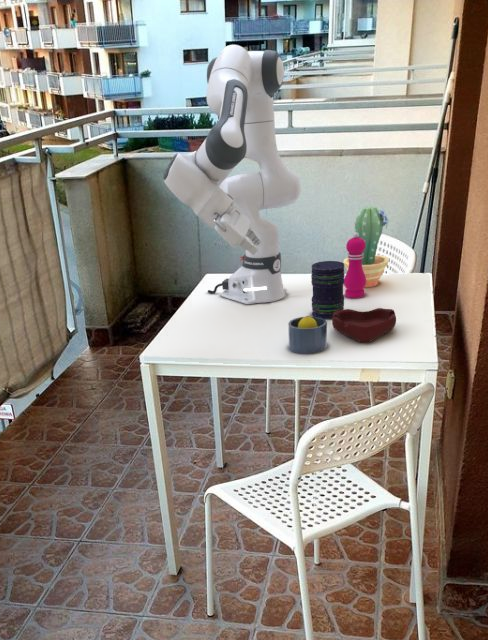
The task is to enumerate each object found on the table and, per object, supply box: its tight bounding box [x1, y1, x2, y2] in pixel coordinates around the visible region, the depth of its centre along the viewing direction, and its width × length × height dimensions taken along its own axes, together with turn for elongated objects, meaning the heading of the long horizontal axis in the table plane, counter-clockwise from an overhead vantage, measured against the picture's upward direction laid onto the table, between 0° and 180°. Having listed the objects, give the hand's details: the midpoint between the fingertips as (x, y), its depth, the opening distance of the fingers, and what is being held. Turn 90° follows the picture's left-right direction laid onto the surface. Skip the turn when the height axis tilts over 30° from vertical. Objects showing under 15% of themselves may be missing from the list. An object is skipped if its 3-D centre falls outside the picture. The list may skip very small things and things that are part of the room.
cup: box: [287, 316, 328, 355], centre depth 190 cm, size 10×10×7 cm
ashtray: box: [331, 307, 397, 344], centre depth 195 cm, size 18×16×5 cm
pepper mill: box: [343, 232, 366, 299], centre depth 223 cm, size 7×7×20 cm
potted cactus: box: [342, 205, 390, 288], centre depth 232 cm, size 15×15×25 cm
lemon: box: [298, 315, 318, 328], centre depth 189 cm, size 6×6×8 cm
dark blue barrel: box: [310, 260, 346, 320], centre depth 210 cm, size 10×10×15 cm
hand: (257, 247), depth 179 cm, fingers open, 8 cm apart
